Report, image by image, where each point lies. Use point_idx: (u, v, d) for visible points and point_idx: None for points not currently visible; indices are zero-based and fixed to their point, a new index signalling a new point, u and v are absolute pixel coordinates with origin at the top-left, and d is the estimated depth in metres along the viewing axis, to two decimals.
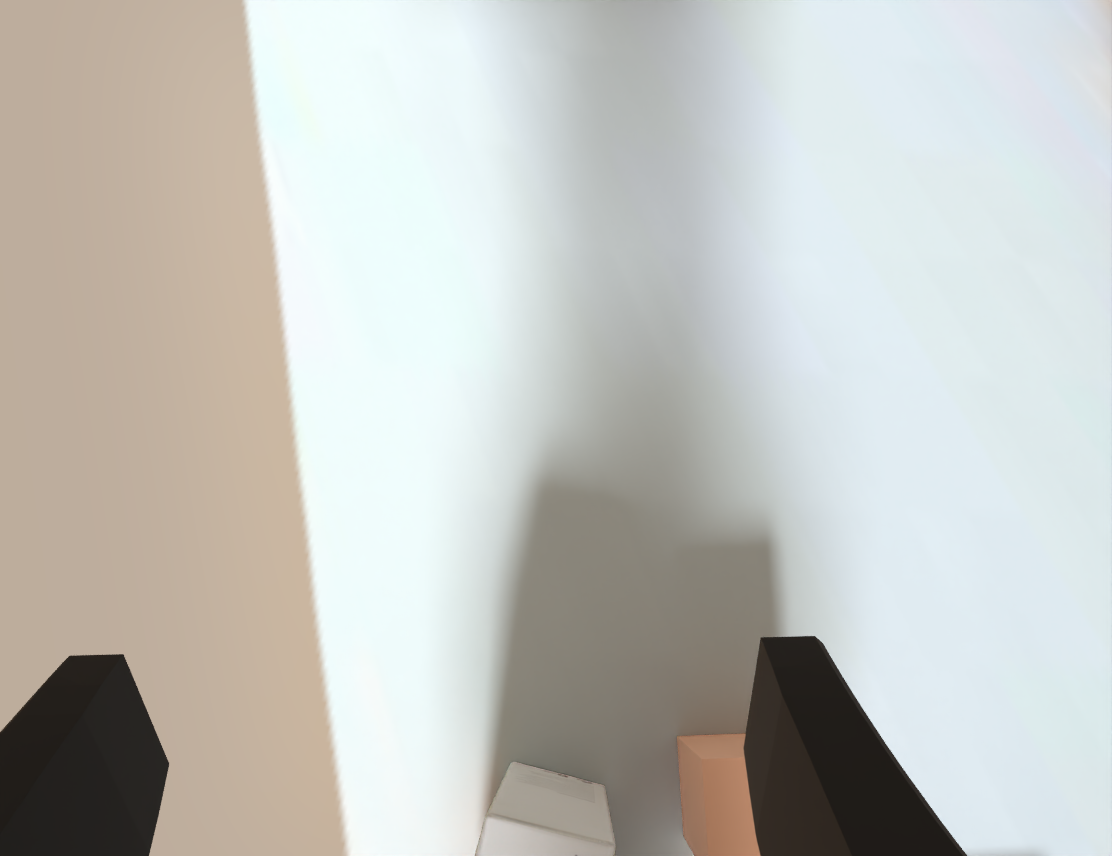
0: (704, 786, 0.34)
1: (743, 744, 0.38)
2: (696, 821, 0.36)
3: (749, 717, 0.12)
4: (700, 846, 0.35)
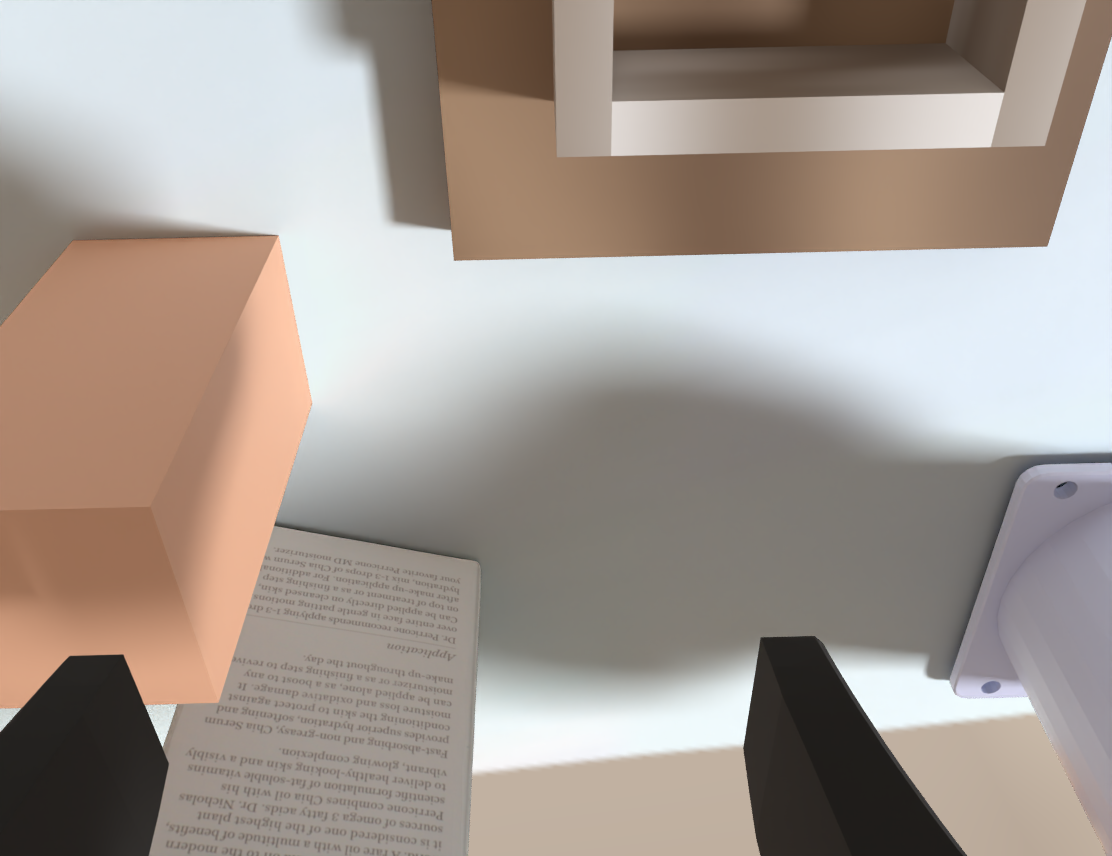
0: None
1: None
2: None
3: (748, 717, 0.12)
4: None
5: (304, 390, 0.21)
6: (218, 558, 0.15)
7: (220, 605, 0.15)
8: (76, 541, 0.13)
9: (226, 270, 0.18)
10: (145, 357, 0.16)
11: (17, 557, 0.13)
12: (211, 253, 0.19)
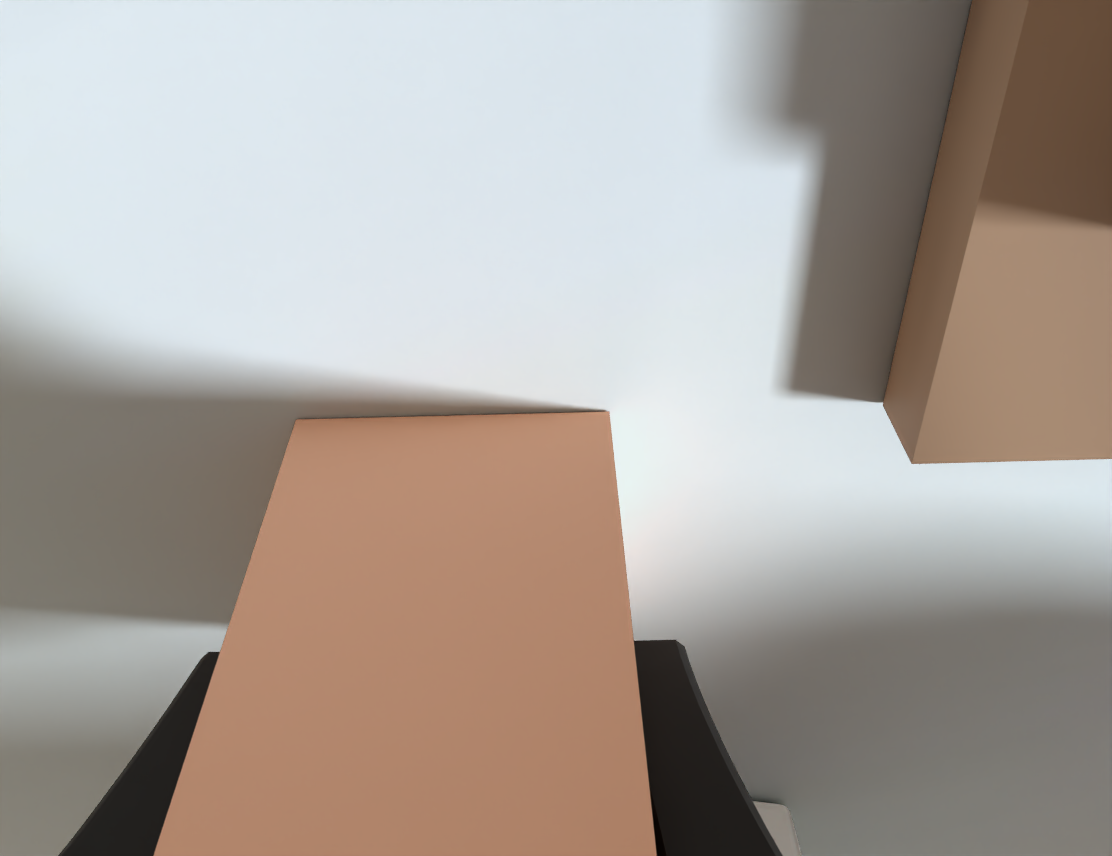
0: None
1: None
2: None
3: None
4: None
5: None
6: None
7: None
8: None
9: (560, 483, 0.11)
10: (508, 691, 0.09)
11: None
12: (520, 447, 0.12)
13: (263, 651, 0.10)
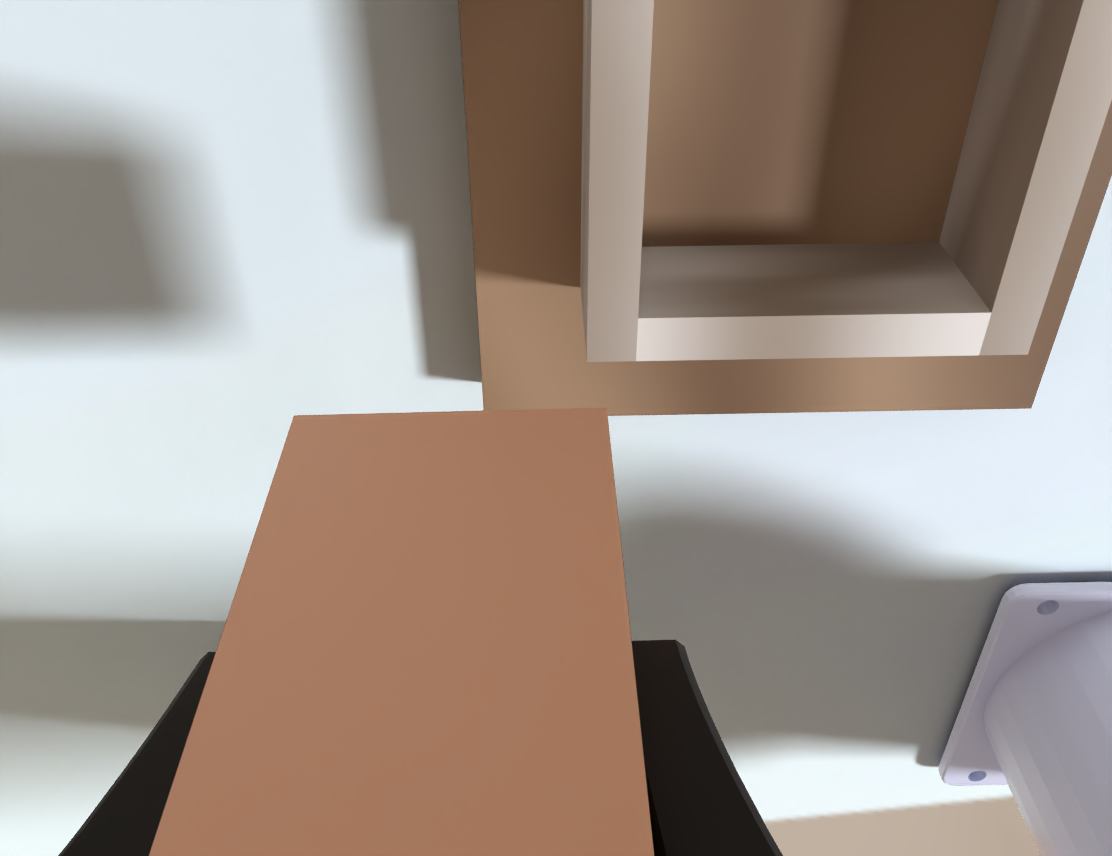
0: None
1: None
2: None
3: None
4: None
5: None
6: None
7: None
8: None
9: (557, 478, 0.12)
10: (505, 683, 0.09)
11: None
12: (519, 443, 0.12)
13: (261, 645, 0.10)
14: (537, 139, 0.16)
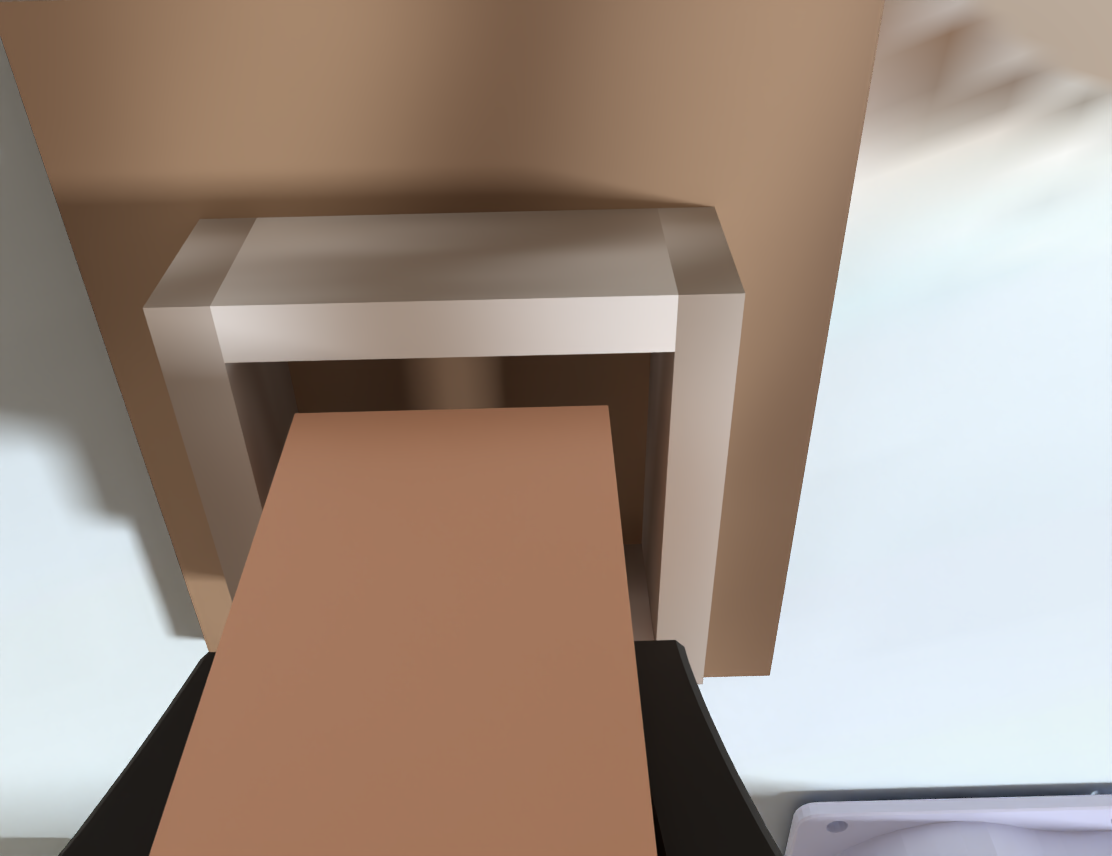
0: None
1: None
2: None
3: None
4: None
5: None
6: None
7: None
8: None
9: (558, 476, 0.11)
10: (507, 683, 0.09)
11: None
12: (520, 441, 0.12)
13: (262, 643, 0.10)
14: None
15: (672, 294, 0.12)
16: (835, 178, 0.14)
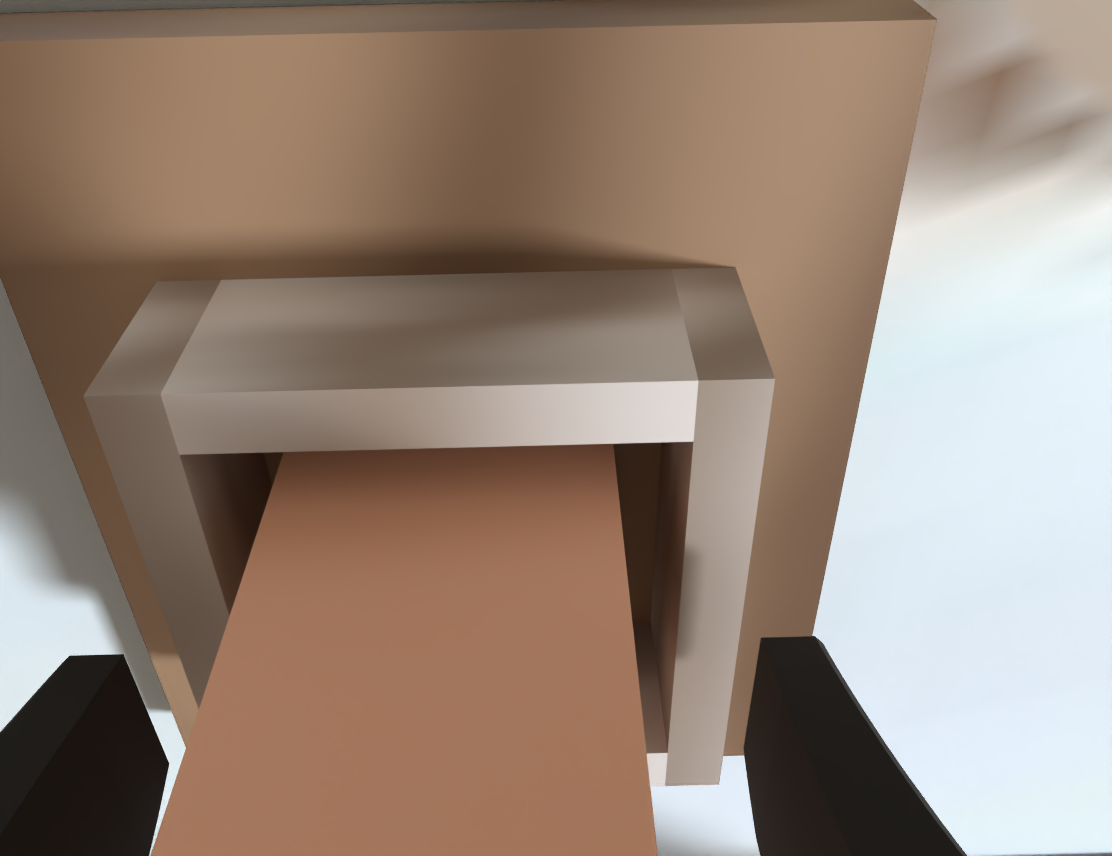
0: None
1: None
2: None
3: (749, 717, 0.12)
4: None
5: None
6: None
7: None
8: None
9: None
10: (509, 621, 0.10)
11: None
12: None
13: (279, 588, 0.10)
14: None
15: (691, 379, 0.10)
16: (871, 236, 0.12)
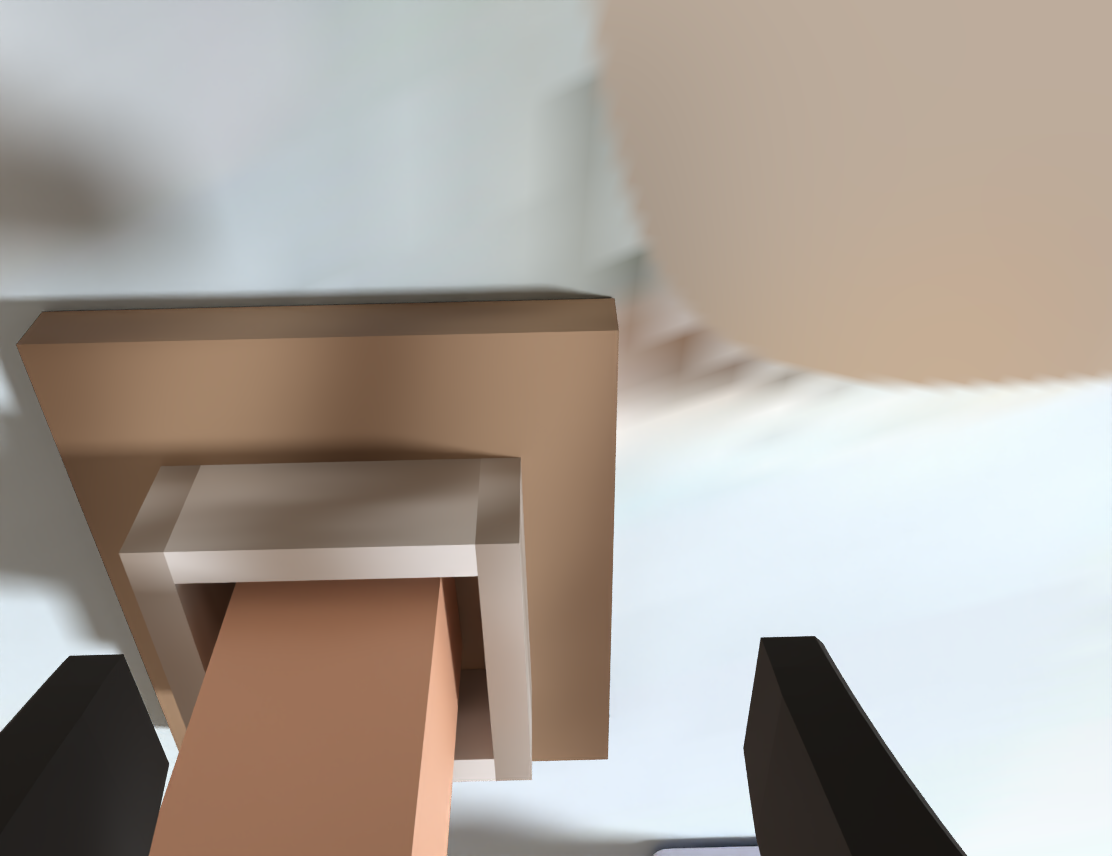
0: None
1: None
2: None
3: (749, 717, 0.12)
4: None
5: (459, 639, 0.22)
6: None
7: None
8: None
9: None
10: (359, 686, 0.17)
11: None
12: None
13: (231, 665, 0.18)
14: None
15: (470, 544, 0.18)
16: (602, 440, 0.20)
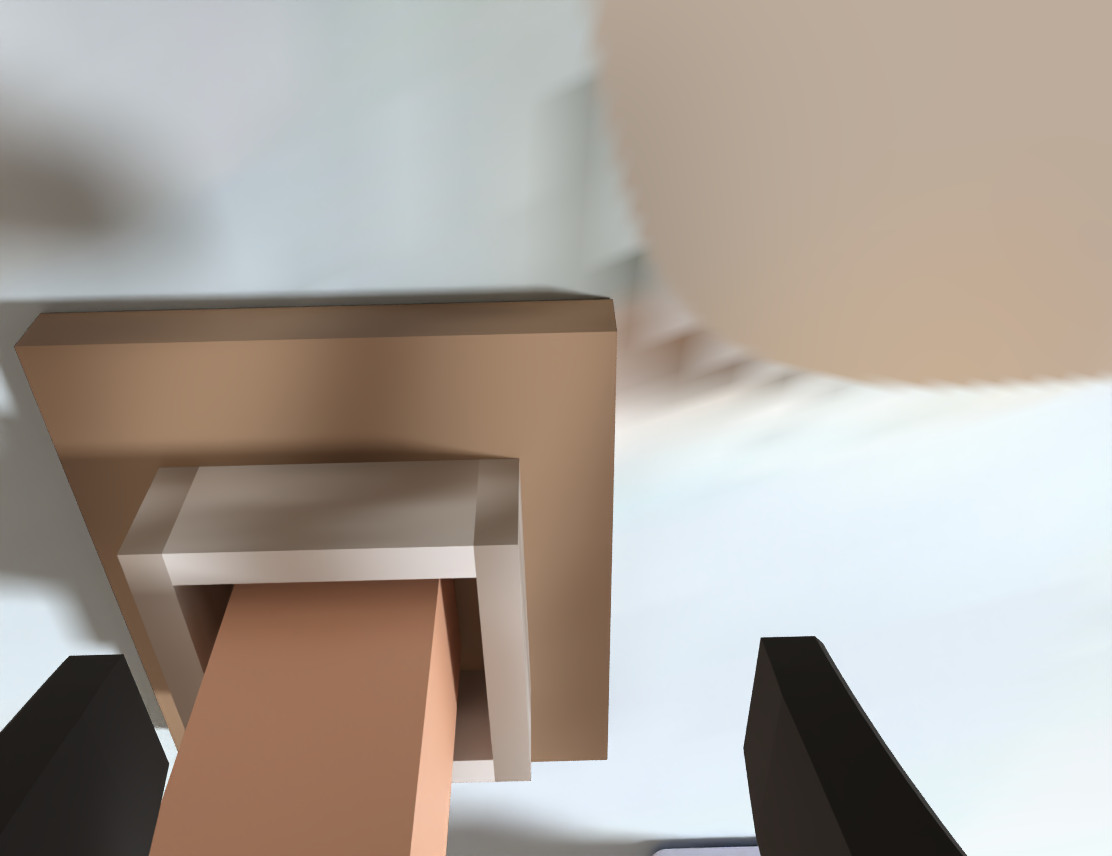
0: None
1: None
2: None
3: (749, 717, 0.12)
4: None
5: (458, 640, 0.22)
6: None
7: None
8: None
9: None
10: (358, 688, 0.17)
11: None
12: None
13: (229, 667, 0.18)
14: None
15: (469, 545, 0.18)
16: (601, 441, 0.20)
